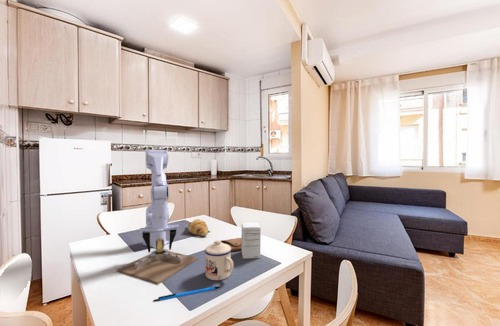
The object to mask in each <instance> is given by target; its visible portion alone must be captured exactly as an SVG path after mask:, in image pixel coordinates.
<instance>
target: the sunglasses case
mask: <svg viewBox="0 0 500 326" xmlns="http://www.w3.org/2000/svg"><path fill="white" fill-rule="evenodd" d="M219 240H220V241H221V243H224V244H227V245H229V246H230V247H231V254H232V253H236V252H242V237H236V238H231V239H224V240H221V239H219ZM214 243H215V241H214V242H213V244H214Z"/></svg>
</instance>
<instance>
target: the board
mask: <svg viewBox="0 0 500 326" xmlns="http://www.w3.org/2000/svg"><path fill="white" fill-rule="evenodd" d="M168 251H169V253H171V254H173V255H179V256H181V257H182V262H181V263H178V262H174V261H171V260H167V259H164V260H160V261H152V262H150V263H148V264H146V265H144V266H142V267H140V268H138V269H135V263H136V262H138V261H139V260H143V259H145V258H147V257H148V256H151V253H148V254H147V255H145V256H142V257H140V258H138V259H136V260H134V261H132V262H130V263H127V264H125V265H122V266H120V267H119V268H116V272H119V273H122V274H124V275H125V274H126V275H129V276H131V277H135V278H138V279H140V280H141V279H142V280H144V281H147V282H150V283H153V284H157V285H159V284H161V283H162V282H165V280H167V279H169V278H170V277H172V276H174V275H175V274H177V273H179V272H180V271H182V270H183V269H185V268H186V267H189V265H191V264H193V263H194V262H196V261H197V260H199V258H198V257H196V256H192V255H191V256H190V255H187V254H183V253H178V252H174V251H171V250H168Z"/></svg>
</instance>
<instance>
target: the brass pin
mask: <svg viewBox="0 0 500 326" xmlns="http://www.w3.org/2000/svg"><path fill="white" fill-rule="evenodd" d="M164 249H165V245H164V239H163V238H159V239H156V248H155V250H156V254H163V253H164Z"/></svg>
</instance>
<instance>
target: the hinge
mask: <svg viewBox="0 0 500 326" xmlns="http://www.w3.org/2000/svg"><path fill="white" fill-rule="evenodd" d="M169 251H170V250H169V249H166V248H164V253H163V254H156V249H155V250H151V251H150V254H151V256H148V257H147V258H145V259H143V260H139V261H138V262H136V263H135V269H138V268H140V267H142V266H144V265H146V264H148V263H150V262H152V261H160V260H164V259H167V260H171V261H174V262H178V263H181V262H182V257H181V256H179V255H173V254H171V253H169Z"/></svg>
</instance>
